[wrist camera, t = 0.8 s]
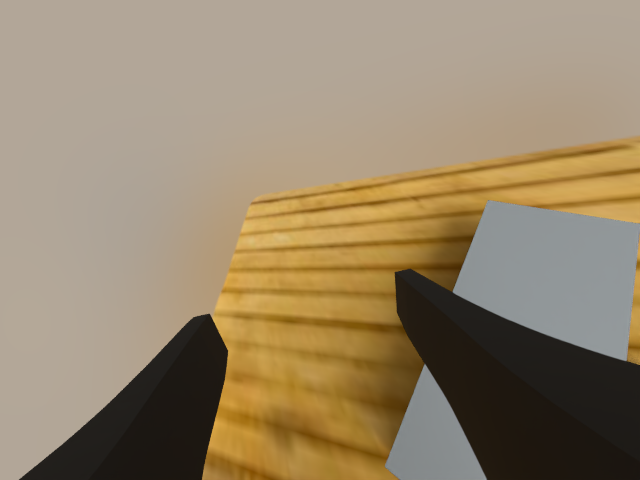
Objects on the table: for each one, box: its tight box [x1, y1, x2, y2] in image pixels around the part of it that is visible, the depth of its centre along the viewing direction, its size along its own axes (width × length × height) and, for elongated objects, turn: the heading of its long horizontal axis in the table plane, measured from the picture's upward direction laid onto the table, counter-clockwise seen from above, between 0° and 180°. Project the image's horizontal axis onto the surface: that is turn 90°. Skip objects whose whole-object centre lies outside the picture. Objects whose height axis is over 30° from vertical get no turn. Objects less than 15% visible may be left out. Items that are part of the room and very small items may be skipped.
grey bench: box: [385, 200, 640, 480], centre depth 20 cm, size 10×24×6 cm, turn 147°
